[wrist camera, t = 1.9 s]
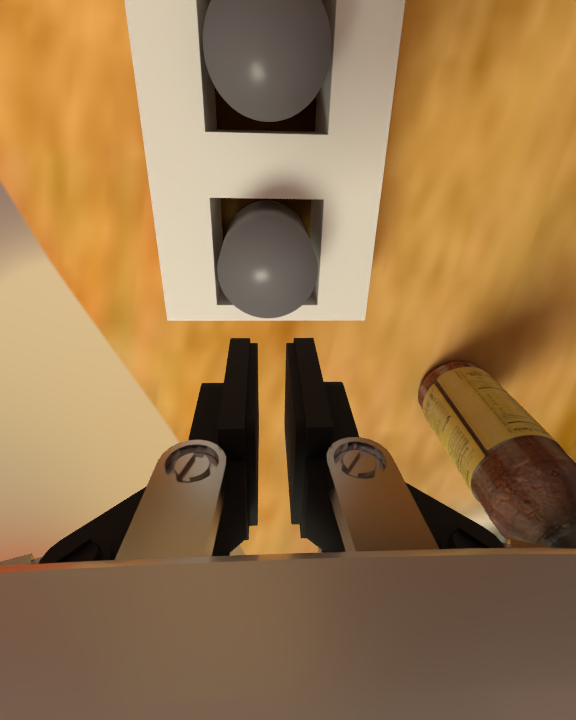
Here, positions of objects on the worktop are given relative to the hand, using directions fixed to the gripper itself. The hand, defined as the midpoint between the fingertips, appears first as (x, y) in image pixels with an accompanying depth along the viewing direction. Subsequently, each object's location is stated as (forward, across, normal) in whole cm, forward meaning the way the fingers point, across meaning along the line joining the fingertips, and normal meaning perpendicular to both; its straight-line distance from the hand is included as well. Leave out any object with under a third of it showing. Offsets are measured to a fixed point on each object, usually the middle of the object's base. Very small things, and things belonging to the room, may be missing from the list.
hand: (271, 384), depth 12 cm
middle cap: (+16, 0, -9) cm, 18 cm away
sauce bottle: (+19, -16, +13) cm, 28 cm away
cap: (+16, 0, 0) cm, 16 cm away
